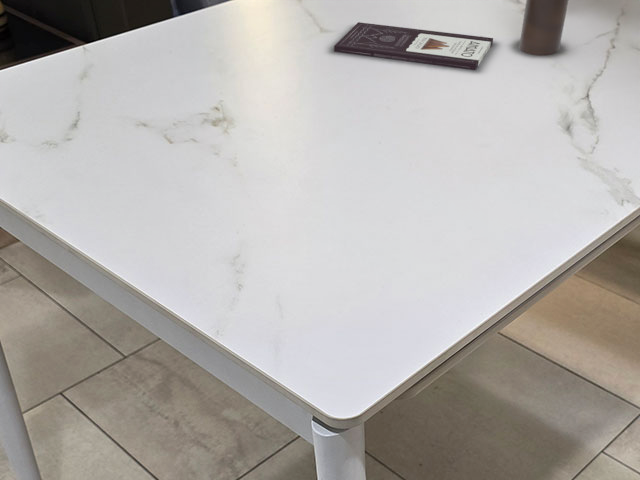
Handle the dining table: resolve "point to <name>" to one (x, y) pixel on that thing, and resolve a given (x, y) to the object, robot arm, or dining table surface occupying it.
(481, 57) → the chocolate bar
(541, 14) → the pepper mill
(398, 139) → the dining table surface
